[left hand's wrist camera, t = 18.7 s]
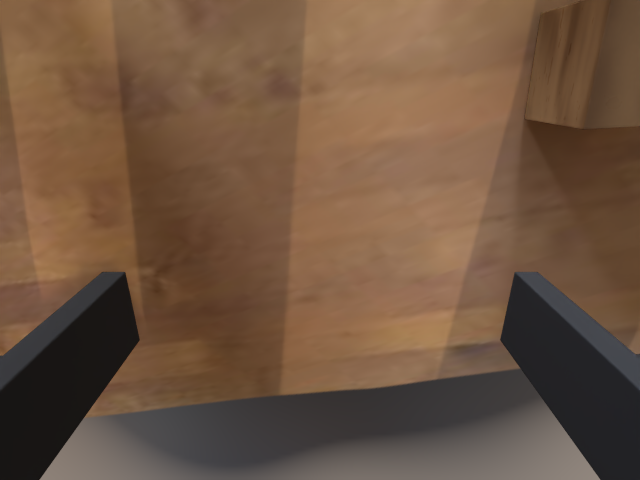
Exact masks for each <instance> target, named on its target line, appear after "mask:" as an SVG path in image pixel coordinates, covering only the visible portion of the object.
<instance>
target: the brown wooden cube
mask: <svg viewBox="0 0 640 480" xmlns="http://www.w3.org/2000/svg"><path fill="white" fill-rule="evenodd" d="M525 119H527V120H532V121H538V122H544V123H550V124H555V125H561V126H567V127H573V128H579V129H602V128H623V127H640V0H583V1H579V2H576V3H573V4H570V5H566V6H563V7H560V8H557V9H553V10H550V11H547V12H544V13H541V16H540V22H539V29H538V35H537V42H536V48H535V54H534V61H533V67H532V74H531V80H530V87H529V93H528V99H527V106H526V112H525Z"/></svg>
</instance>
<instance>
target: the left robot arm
mask: <svg viewBox="0 0 640 480" xmlns="http://www.w3.org/2000/svg"><path fill="white" fill-rule="evenodd" d="M139 340H140V339H139V335H138V330H137V325H136V321H135V316H134V311H133V307H132V302H131V297H130V292H129V288H128V283H127V278H126V274H125V272H102V273H101V274H100V275H98V276H97V277H96V278H95V279H94V280H92V281H91V282H90V283H89V284H88V285H86V286H85V287H84V288H83V289H82V290H81V291H79V292H78V293H77V294H76V295H75V296H73V297H72V298H71V299H70V300H69V301H67V302H66V303H65V304H64V305H63V306H62V307H60V308H59V309H58V310H57V311H56V312H54V313H53V314H52V315H51V316H50V317H48V318H47V319H46V320H45V321H44V322H43V323H41V324H40V325H39V326H38V327H37V328H35V329H34V330H33V331H32V332H31V333H29V334H28V335H27V336H26V337H25V338H24V339H22V340H21V341H20V342H19V343H18V344H16V345H15V346H14V347H13V348H12V349H10V350H9V351H8V352H7V353H6V354H5V355H3V356H0V480H39V479H40V478H41V477H42V475H43V474H44V473H45V471H46V470H47V468H48V467H49V466H50V464H51V463H52V461H53V460H54V459H55V457H56V456H57V454H58V453H59V452H60V450H61V449H62V447H63V446H64V445H65V443H66V442H67V441H68V439H69V438H70V436H71V435H72V434H73V432H74V431H75V429H76V428H77V427H78V425H79V424H80V422H81V421H82V420H83V418H84V417H85V415H86V414H87V413H88V411H89V410H90V408H91V407H92V406H93V404H94V403H95V402H96V400H97V399H98V397H99V396H100V395H101V393H102V392H103V390H104V389H105V388H106V386H107V385H108V383H109V382H110V381H111V379H112V378H113V376H114V375H115V374H116V372H117V371H118V369H119V368H120V367H121V365H122V364H123V363H124V361H125V360H126V358H127V357H128V356H129V354H130V353H131V351H132V350H133V349H134V347H135V346H136V344H137V343H138V342H139ZM500 340H501V342H502V343H503V344H504V346H505V347H506V349H507V350H508V351H509V353H510V354H511V356H512V357H513V358H514V360H515V361H516V363H517V364H518V365H519V367H520V368H521V369H522V371H523V372H524V374H525V375H526V376H527V378H528V379H529V381H530V382H531V383H532V385H533V386H534V388H535V389H536V390H537V392H538V393H539V395H540V396H541V397H542V399H543V400H544V402H545V403H546V404H547V406H548V407H549V408H550V410H551V411H552V413H553V414H554V415H555V417H556V418H557V420H558V421H559V422H560V424H561V425H562V427H563V428H564V429H565V431H566V432H567V434H568V435H569V436H570V438H571V439H572V440H573V442H574V443H575V445H576V446H577V447H578V449H579V450H580V452H581V453H582V454H583V456H584V457H585V459H586V460H587V461H588V463H589V464H590V466H591V467H592V468H593V470H594V471H595V473H596V474H597V475H598V477H599V478H600V480H640V354H634V353H633V352H632V351H631V350H630V349H628V348H627V347H626V346H625V345H624V344H622V343H621V342H620V341H619V340H618V339H616V338H615V337H614V336H613V335H612V334H611V333H609V332H608V331H607V330H606V329H605V328H603V327H602V326H601V325H600V324H599V323H597V322H596V321H595V320H594V319H593V318H592V317H590V316H589V315H588V314H587V313H586V312H584V311H583V310H582V309H581V308H580V307H578V306H577V305H576V304H575V303H574V302H573V301H571V300H570V299H569V298H568V297H567V296H565V295H564V294H563V293H562V292H561V291H559V290H558V289H557V288H556V287H555V286H554V285H552V284H551V283H550V282H549V281H548V280H546V279H545V278H544V277H543V276H542V275H540V274H539V273H538V272H515V274H514V278H513V283H512V288H511V292H510V297H509V302H508V307H507V311H506V316H505V321H504V325H503V330H502V335H501V339H500Z"/></svg>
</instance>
